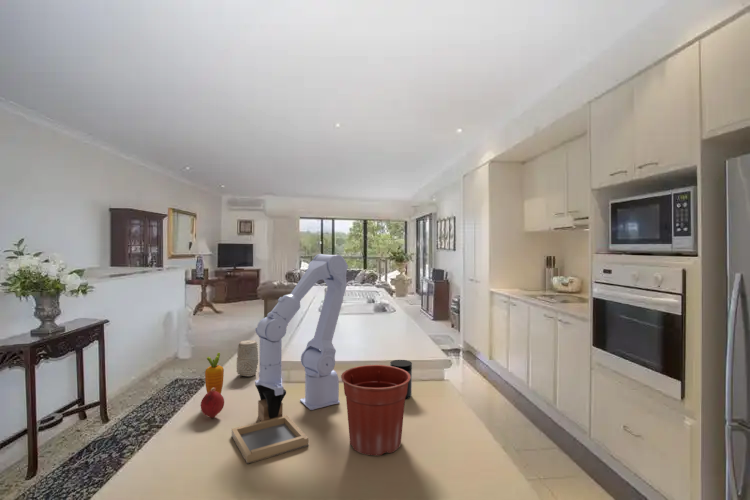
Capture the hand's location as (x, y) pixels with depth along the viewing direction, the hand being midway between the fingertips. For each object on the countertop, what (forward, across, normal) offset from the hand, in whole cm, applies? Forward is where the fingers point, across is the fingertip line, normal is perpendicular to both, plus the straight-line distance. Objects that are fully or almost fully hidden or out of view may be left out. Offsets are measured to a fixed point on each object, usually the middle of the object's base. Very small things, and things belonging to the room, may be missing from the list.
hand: (270, 413), depth 103 cm
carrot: (+2, -16, -11) cm, 20 cm away
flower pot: (+2, +26, +17) cm, 31 cm away
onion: (+2, -8, -13) cm, 16 cm away
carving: (+2, -38, +4) cm, 38 cm away
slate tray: (+1, +12, -4) cm, 12 cm away
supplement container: (+2, +6, +39) cm, 40 cm away
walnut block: (+2, 0, 0) cm, 2 cm away
